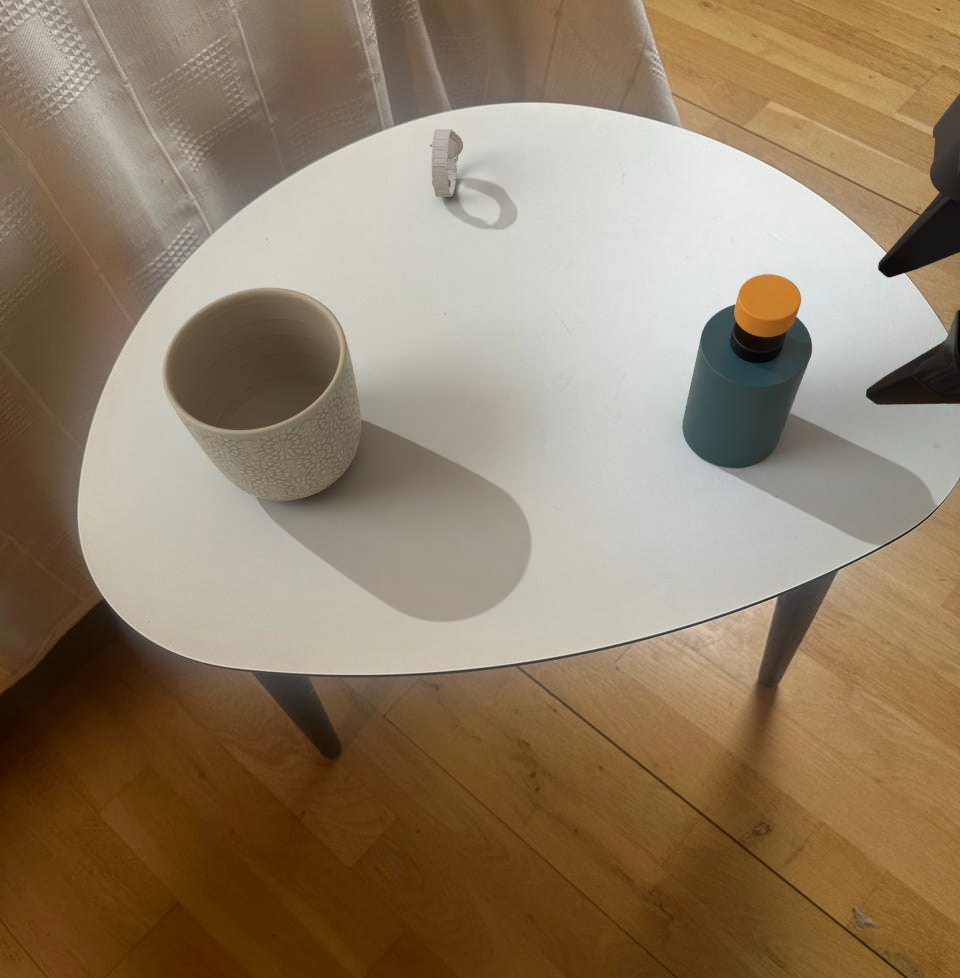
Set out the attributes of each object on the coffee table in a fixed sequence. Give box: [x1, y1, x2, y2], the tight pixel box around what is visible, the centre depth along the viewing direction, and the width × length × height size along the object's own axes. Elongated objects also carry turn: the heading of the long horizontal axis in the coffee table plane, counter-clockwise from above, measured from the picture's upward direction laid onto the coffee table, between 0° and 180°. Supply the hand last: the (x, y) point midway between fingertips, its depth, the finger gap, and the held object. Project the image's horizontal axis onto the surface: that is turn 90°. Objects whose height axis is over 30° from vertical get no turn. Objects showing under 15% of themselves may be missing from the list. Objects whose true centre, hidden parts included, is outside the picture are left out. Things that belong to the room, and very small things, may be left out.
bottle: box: [681, 303, 813, 469], centre depth 63 cm, size 7×7×10 cm
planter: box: [161, 287, 362, 502], centre depth 64 cm, size 12×12×11 cm
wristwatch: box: [429, 128, 464, 198], centre depth 78 cm, size 3×5×5 cm, turn 173°
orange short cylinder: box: [734, 273, 802, 337], centre depth 56 cm, size 4×4×2 cm
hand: (876, 332), depth 50 cm, fingers open, 9 cm apart
